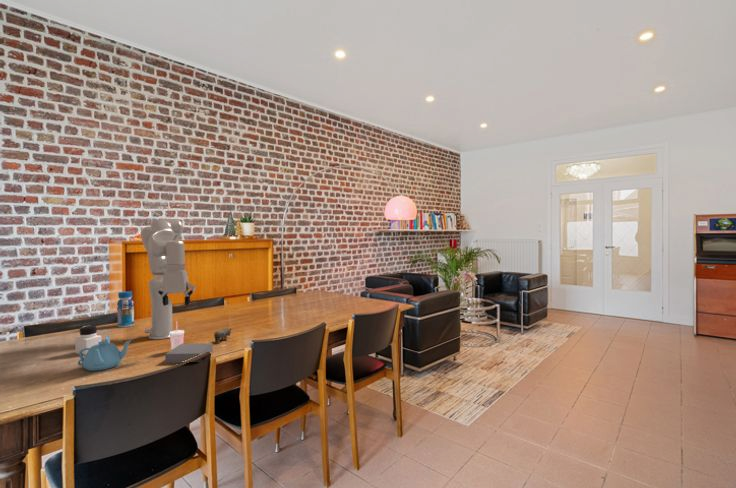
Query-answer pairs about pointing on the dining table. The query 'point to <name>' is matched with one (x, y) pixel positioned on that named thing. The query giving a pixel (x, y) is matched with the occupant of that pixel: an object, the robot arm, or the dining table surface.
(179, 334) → the beverage cup
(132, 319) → the beverage bottle
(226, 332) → the rhino figurine
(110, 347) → the teapot
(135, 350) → the dining table surface
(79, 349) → the medicine bottle
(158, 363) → the dining table surface
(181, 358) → the plinth
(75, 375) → the dining table surface
